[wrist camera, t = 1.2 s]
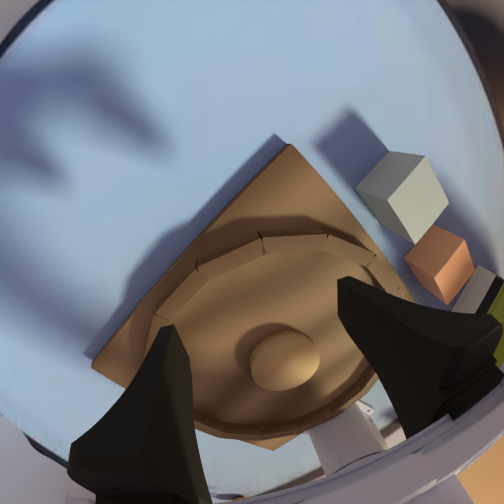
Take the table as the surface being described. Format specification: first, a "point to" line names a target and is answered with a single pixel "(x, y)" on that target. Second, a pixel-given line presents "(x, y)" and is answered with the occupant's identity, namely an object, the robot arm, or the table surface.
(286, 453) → the table surface
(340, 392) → the groove tray
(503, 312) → the tea box
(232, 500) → the figurine
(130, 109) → the table surface
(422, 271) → the orange cube
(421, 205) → the grey cube
